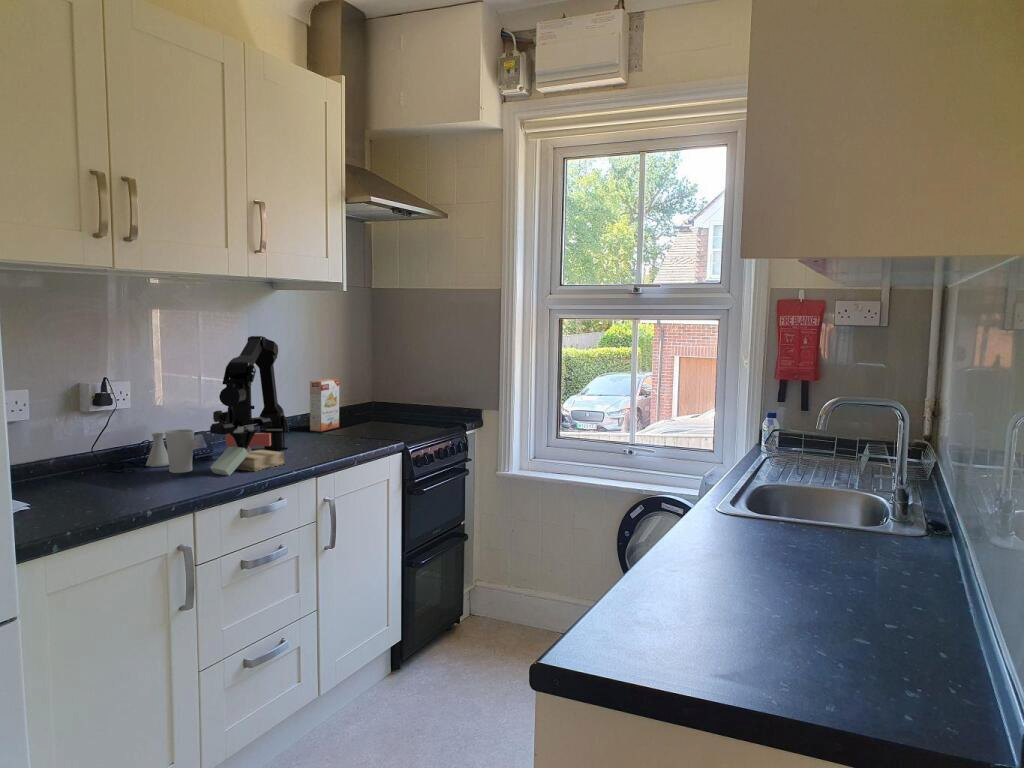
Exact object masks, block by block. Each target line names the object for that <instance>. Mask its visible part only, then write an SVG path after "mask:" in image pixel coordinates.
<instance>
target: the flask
mask: <svg viewBox="0 0 1024 768" xmlns="http://www.w3.org/2000/svg"><path fill="white" fill-rule="evenodd" d="M164 435H165V432H155V433H152V434H151V436H152V445H151V448H150V449H151V450H150V452H149V454H148V457H147V460H146V464H145V467H151V468H155V467H156V468H157V467H165V466H169V460H168V451H167V447H166V446H165V442H164Z"/></svg>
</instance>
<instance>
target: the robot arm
mask: <svg viewBox="0 0 1024 768" xmlns="http://www.w3.org/2000/svg"><path fill="white" fill-rule="evenodd" d="M278 354H279V346H278V344H277V343H276V342H275V341H273V340H271V339H268V338H266V337H265V336H262V335H251V336H248V337H247V342H246V344H245V346H244V347H243V349H242V350H241V353H240V354H239V355H238V356H237V357H233V358H232V359H230V361H229V362H228V363H227V365H226V366H225V370H224V374H223V379H222V385H225V387H224V388H223V389H221V391H220V393H219V397H218V398H219V401H220V403H221V404H222V405H223V406H226V407H227V411H222V410H216V411H213V415H212V419H213V421H214V422H215V423H212V424H211V425H210V426H209V427H210V428H209V434H215V435H223V436H224V435H225V436H226V434H230V435H231V436H233V438H234V440H235V442H236V444H237V446H236V447H241V448H245V449H246V450H247V448H248V445H249V443H250V441H251V439H252V438H253V436H254V434H255V433H258V429H255V427H258V426H259V429H260V433H271V446H263V447H262V448H261V449H262V450H270V451H277V450H278V451H282V449H283V450H287V449H286V448H288V449H289V446H286V444H285V442H286V441H285V434H286V433H289V431H290V430H289V429H290V428H289V422H288V419H287V416H286V415H285V411H284V408H283V407H282V406H281V405H280V404H279V403H278V395H277V386H276V376H275V368H274V367H275V366H274V365H275V362H276V361H277V358H278ZM255 365H256V366H255ZM255 367H257V368H258V369H259V377H260V379H259V380H260V385H261V393H262V394H261V395H262V401H263V409H262V411H261V412H260V414H259V416H257V417H256V416H255V417H253V415H252V414H253V413H252V411H253V410H255V405H252V383H253V382H254V379H255V376H256V374H257V370H256V368H255Z"/></svg>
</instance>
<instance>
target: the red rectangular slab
mask: <svg viewBox="0 0 1024 768" xmlns="http://www.w3.org/2000/svg"><path fill="white" fill-rule="evenodd" d="M229 446H233V447H238V446H237V444H236V442H235V440H234V438H233V436H231V435H230V434H225V447H229ZM264 446H271V433H261V432H256V433H255V434H254V436H253V438H252V439H251V441H250V443H249V445H248V448H247V450H246V451H247V452H251V451H253V450H252V448H253V447H264Z"/></svg>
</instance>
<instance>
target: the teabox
mask: <svg viewBox="0 0 1024 768" xmlns="http://www.w3.org/2000/svg"><path fill="white" fill-rule="evenodd" d="M248 453H249V454H248V455H247V457H246V458H245V459H244V460H243V461H242V462H241V463H240V465H239V466H238V467H237V468H236V469H235V470H239V469H241V471H246V470H247V472H253V471H255V472H259V471H258V470H260V471H263V470H262V469H264V470H267V469H266V468H269V467H273V468H275V467H274V466H277V467H279V466H278V465H282V466H284V465H283V464H285V452H284V451H279V450H278V451H270V450H262V448H261V449H256V450H252V451H251V452H248ZM269 469H270V468H269Z"/></svg>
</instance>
